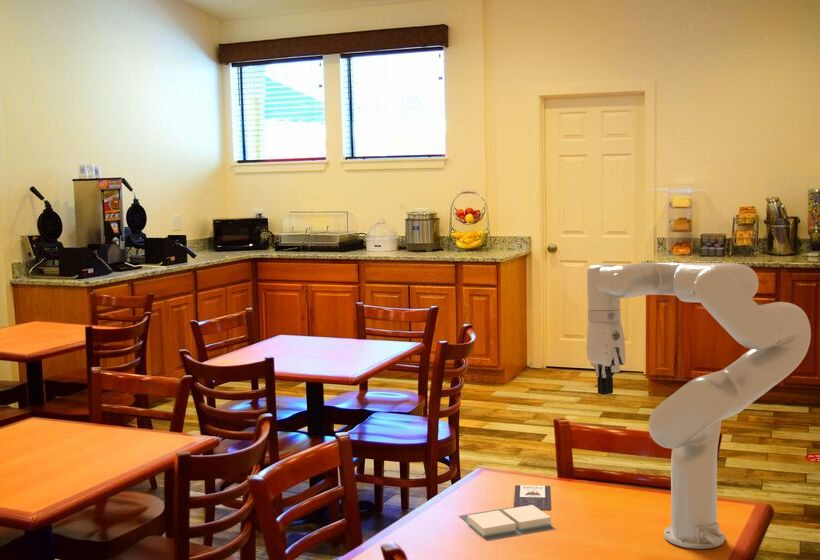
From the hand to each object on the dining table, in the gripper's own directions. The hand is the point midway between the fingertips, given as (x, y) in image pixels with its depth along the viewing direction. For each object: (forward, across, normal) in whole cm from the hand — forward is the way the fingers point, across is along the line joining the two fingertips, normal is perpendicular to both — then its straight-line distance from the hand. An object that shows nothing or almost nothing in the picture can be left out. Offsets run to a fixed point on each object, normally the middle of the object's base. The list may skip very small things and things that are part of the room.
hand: (605, 393), depth 209 cm
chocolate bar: (+30, +16, +12) cm, 36 cm away
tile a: (+28, +6, +21) cm, 35 cm away
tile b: (+28, +6, +30) cm, 41 cm away
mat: (+29, +3, +25) cm, 39 cm away
